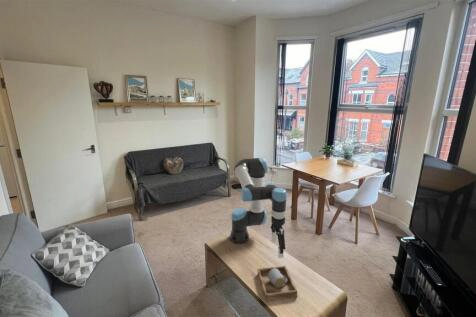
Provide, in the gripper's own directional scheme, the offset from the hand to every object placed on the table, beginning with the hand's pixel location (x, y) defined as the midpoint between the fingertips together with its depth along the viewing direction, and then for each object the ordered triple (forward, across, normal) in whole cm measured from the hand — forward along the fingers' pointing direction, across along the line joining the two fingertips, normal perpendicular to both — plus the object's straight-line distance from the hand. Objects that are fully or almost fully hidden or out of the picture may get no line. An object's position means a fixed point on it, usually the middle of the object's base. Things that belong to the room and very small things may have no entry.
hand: (277, 249), depth 132 cm
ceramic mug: (+22, +1, +1) cm, 23 cm away
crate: (+23, +2, 0) cm, 23 cm away
